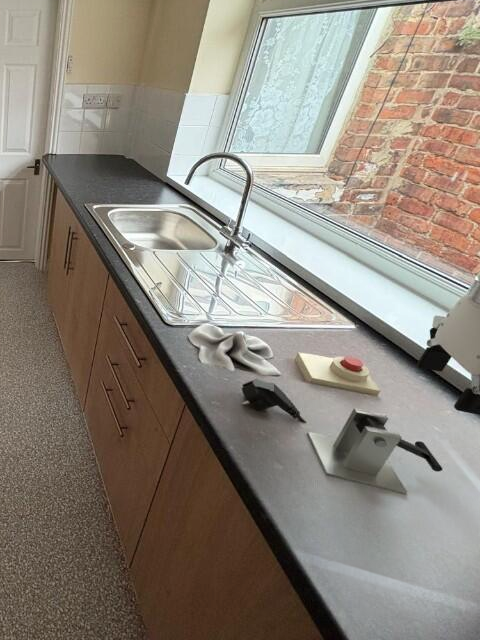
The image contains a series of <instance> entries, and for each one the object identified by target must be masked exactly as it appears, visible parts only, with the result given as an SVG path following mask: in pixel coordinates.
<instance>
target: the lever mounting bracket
mask: <svg viewBox="0 0 480 640" xmlns="http://www.w3.org/2000/svg"><path fill="white" fill-rule="evenodd" d="M366 417H367V418H370V419H372V420H374V421H376V422H378V423H380V424H383V425H384V426H385V425H386V424H387V421H388V420H389V417H388V416H387V415H386V414H384V413H380V412H375V411H371V410H367V409H360V408H356V407H355V408H353V409H352V411H351V413H350V414H349V416H348V417H347V420H346V422H345V423H344V425H343V426H342V428H341V430H340V431H339V434H338V436H337V437H334V436H329V435H324V434H321V433H316V432H311V431H307V433H306V435H307V437H308V439H309V441H310V444H311V445H312V448H313V450H314V452H315V454H316V457H317V459H318V461H319V463H320V465H321V467H322V470H323V472H324V475H326V476H330V477H334V478H337V479H341V480H346V481H350V482H352V483H353V482H354V483H357V484H362V485H366V486H370V487H374V488H378V489H382V490H387V491H391V492H395V493H399V494H402V495H407V494H408V491H407V489H406V487H405V486H404V484H403V483H402V481H401V479H400V478H399V476H398V475H397V473H396V471H395V470H394V468H393V466H392V465H391V463H390V461H389V460H388V459H389V457H391V455H392V453H393V452H394V450H395V449H396V447H397V446H396V445H397V444H398V442H399V441H400V439H402V436H401V435H400V434H399V433H398V432H395V431H390V430H387V429H386V430H387V431H386V430H381V429H376V428H372V427H367V426H365V427H364V429H363V431H362V432H361V434H360V432H359V430H358V428H357V427H356V424H358V423H359V422H360V421H362V420H363V419H365V418H366Z"/></svg>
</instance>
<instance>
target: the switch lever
mask: <svg viewBox="0 0 480 640" xmlns="http://www.w3.org/2000/svg"><path fill="white" fill-rule="evenodd" d="M365 426H367V427H372V428H376V429H381V430H386V431H388V430H387V428H386V427H385V425H383V424H380V423H378V422H376V421H374V420H372V419H370V418H367V417H366V418H365V419H363V420H362V421H360V422H359V423H358V424H356V427H357V428H358V430H359V432H360V434H361V432H362V431H363V429H364V427H365ZM396 447H398V448H400V449H403V450H405V451H407V452H409V453H411V454H413V455H415V456H417V457H419V458H422V459H424V460H425V461H426V462H427V464H428V465H429V467H430V468H431V470H432V471H434V472H437V473H438V472H442V471H443V467H442V466H441V464H440V463H439V462H438V460H437V458H436V457H435V456H434V454H433V453H432V452H431V450H430V449H429V448H428V446H427V445H426V444H425V443H424V442H423V441H420V440H419V441H415V442H414V444H413V443H411V442H409V441H407V440H405V439H402V438H401V439H400V441H399V442H398V444H397V445H396Z"/></svg>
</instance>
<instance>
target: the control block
mask: <svg viewBox="0 0 480 640" xmlns="http://www.w3.org/2000/svg"><path fill="white" fill-rule="evenodd" d="M344 357H345V356H342V355H341V356H334V357H328V356H322V355H317V354H312V353H305V352H301V351H298V352H297V354H296V356H295V358H294V360H295V362H296V363H297V366H298V368H299V370H300V372H301V373H302V375H303V377H304V379H305V381H306V383H307V384H311V385H316V386H320V387H321V386H322V387H326V388H330V389H331V388H332V389H337V390H343V391H347V392H353V393H357V394H362V395H368V396H373V397H379V394H380V393H381V390H380V388H379V387H378V385H377V383H375V381H374V379H373V378H372V377H371V376H370V373H371V370H369V368H368V366H366V365H365V364H363V366H362V368H361V370H360V371H359V372H354V371H350V370H348V369H346V368H344V367H343V366H342V365H341V363H342V361H343V359H344Z"/></svg>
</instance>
